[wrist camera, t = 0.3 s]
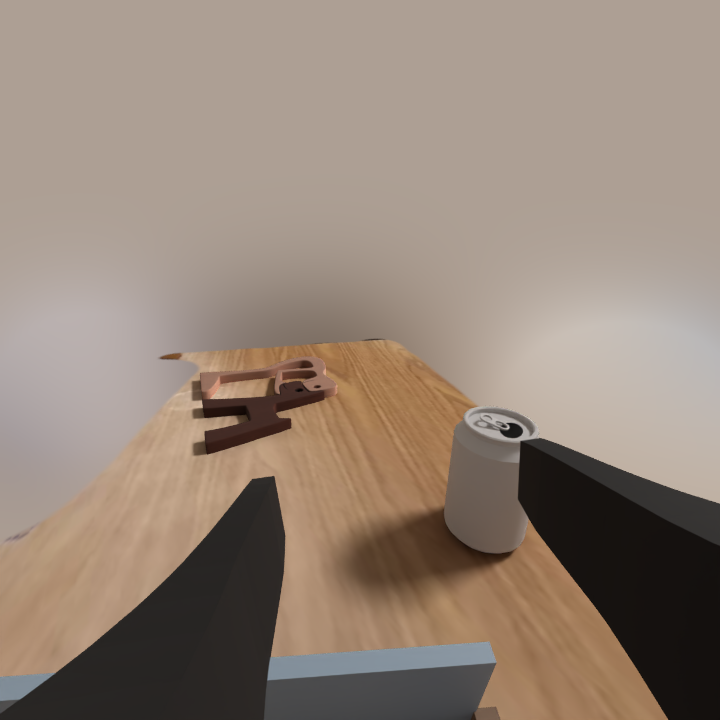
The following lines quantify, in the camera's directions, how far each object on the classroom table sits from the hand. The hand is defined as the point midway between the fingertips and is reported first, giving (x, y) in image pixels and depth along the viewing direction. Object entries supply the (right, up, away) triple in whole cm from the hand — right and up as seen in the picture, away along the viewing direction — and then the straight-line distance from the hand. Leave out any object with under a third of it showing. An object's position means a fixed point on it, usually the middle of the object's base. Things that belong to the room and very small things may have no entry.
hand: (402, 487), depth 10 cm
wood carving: (-16, -3, +52) cm, 55 cm away
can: (+11, -13, +25) cm, 30 cm away
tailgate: (-6, -17, +8) cm, 20 cm away
